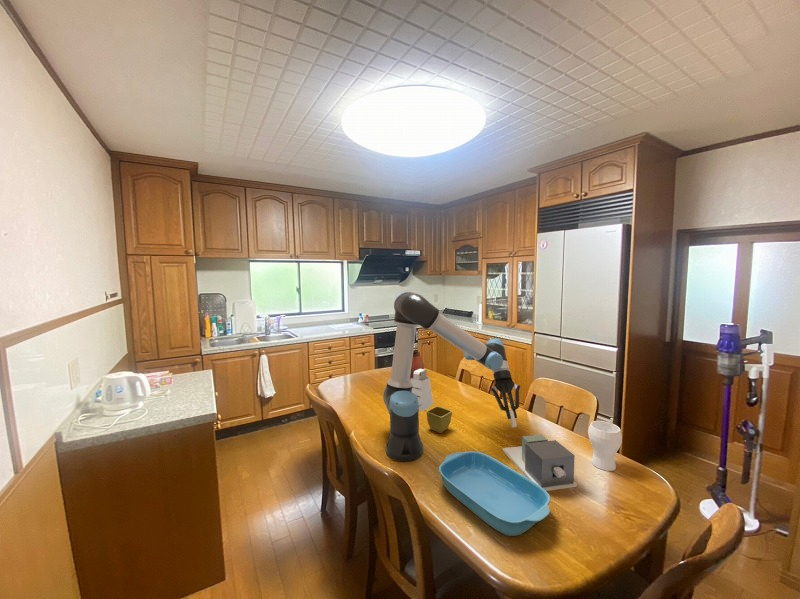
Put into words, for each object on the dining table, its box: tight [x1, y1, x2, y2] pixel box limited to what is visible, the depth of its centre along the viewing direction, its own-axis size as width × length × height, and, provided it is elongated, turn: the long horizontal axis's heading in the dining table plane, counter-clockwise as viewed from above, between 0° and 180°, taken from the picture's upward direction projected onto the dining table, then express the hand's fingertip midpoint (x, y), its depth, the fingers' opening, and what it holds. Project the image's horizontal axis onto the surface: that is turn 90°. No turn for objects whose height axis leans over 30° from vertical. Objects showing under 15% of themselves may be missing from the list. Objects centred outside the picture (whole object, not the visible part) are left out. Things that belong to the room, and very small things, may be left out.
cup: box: [587, 420, 623, 472], centre depth 121 cm, size 11×11×15 cm
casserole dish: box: [438, 450, 551, 537], centre depth 104 cm, size 37×22×7 cm, turn 35°
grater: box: [410, 368, 434, 412], centre depth 177 cm, size 10×10×20 cm
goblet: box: [410, 349, 425, 388], centre depth 197 cm, size 19×19×25 cm
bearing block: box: [525, 439, 575, 488], centre depth 114 cm, size 10×12×10 cm
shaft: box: [521, 434, 566, 480], centre depth 115 cm, size 18×8×9 cm, turn 10°
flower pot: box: [426, 405, 453, 434], centre depth 150 cm, size 9×9×9 cm
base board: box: [502, 445, 578, 492], centre depth 121 cm, size 26×14×1 cm, turn 10°
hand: (514, 426), depth 135 cm, fingers closed
